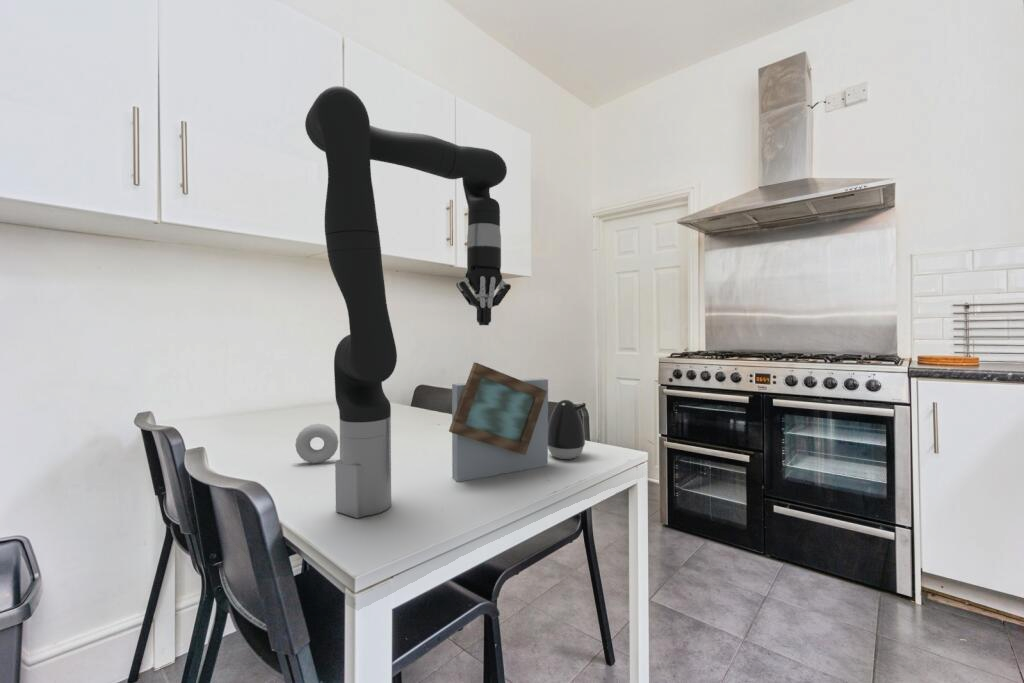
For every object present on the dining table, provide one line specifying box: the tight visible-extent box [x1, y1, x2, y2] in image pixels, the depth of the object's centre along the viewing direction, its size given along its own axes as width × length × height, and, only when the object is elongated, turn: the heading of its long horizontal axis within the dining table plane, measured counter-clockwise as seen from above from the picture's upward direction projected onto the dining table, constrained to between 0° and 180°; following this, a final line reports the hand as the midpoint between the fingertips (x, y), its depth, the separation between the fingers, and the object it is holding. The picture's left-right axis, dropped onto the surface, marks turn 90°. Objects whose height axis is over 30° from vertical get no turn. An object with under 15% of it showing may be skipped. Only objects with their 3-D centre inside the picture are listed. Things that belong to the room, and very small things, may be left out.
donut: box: [295, 423, 339, 464], centre depth 111 cm, size 10×4×10 cm, turn 104°
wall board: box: [451, 377, 549, 482], centre depth 105 cm, size 24×3×22 cm, turn 119°
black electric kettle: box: [548, 399, 587, 460], centre depth 117 cm, size 10×10×15 cm
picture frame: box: [448, 362, 547, 455], centre depth 101 cm, size 20×2×16 cm, turn 120°
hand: (484, 325), depth 99 cm, fingers closed
